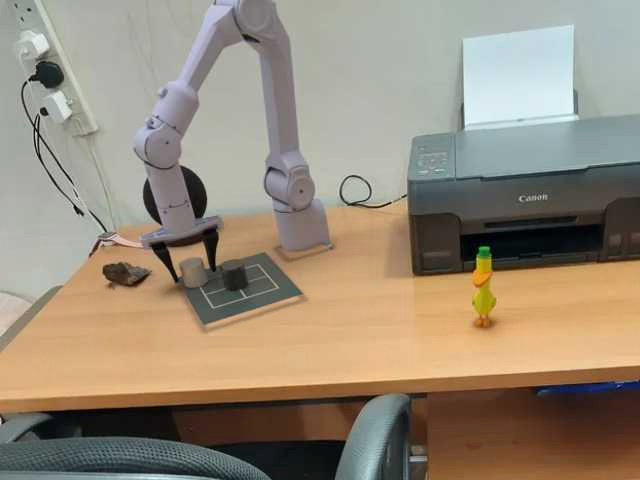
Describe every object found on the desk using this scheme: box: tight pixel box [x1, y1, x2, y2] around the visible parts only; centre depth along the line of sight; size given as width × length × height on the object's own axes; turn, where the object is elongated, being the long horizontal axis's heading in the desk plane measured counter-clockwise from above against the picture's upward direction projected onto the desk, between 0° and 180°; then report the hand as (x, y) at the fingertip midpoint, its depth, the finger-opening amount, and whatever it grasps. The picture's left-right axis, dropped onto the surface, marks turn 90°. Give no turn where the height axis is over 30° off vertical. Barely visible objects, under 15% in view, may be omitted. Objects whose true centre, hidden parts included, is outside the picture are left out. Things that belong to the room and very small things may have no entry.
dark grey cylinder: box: [219, 258, 249, 291], centre depth 119 cm, size 4×4×4 cm
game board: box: [177, 251, 304, 326], centre depth 120 cm, size 18×22×1 cm
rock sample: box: [101, 261, 153, 286], centre depth 128 cm, size 10×8×9 cm
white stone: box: [178, 256, 208, 288], centre depth 122 cm, size 4×4×4 cm
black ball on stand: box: [142, 164, 208, 248], centre depth 141 cm, size 13×13×15 cm
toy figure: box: [471, 246, 497, 328], centre depth 98 cm, size 7×4×12 cm, turn 158°
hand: (194, 275), depth 122 cm, fingers open, 6 cm apart
